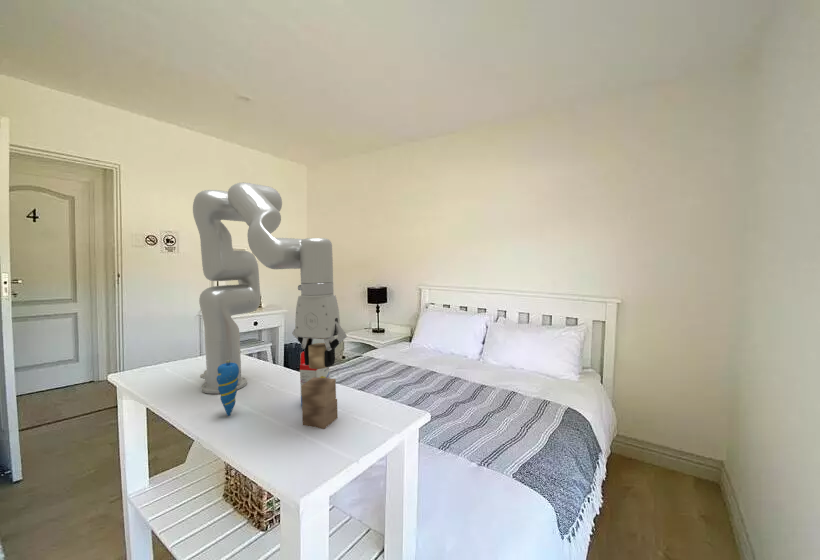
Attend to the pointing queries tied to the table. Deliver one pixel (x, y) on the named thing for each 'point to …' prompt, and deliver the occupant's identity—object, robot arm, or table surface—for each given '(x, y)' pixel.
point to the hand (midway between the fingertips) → (319, 363)
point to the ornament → (228, 384)
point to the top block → (318, 392)
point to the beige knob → (317, 355)
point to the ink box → (310, 372)
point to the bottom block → (319, 415)
